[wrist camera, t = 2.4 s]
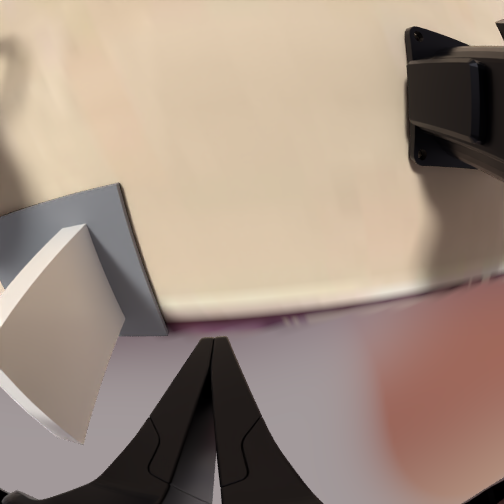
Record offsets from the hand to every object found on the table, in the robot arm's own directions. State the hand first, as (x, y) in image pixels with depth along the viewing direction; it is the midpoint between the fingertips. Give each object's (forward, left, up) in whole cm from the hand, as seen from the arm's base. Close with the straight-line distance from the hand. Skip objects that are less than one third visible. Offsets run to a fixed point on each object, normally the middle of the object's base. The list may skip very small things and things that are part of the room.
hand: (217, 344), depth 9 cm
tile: (+7, 0, -5) cm, 8 cm away
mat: (+10, 0, -5) cm, 11 cm away
